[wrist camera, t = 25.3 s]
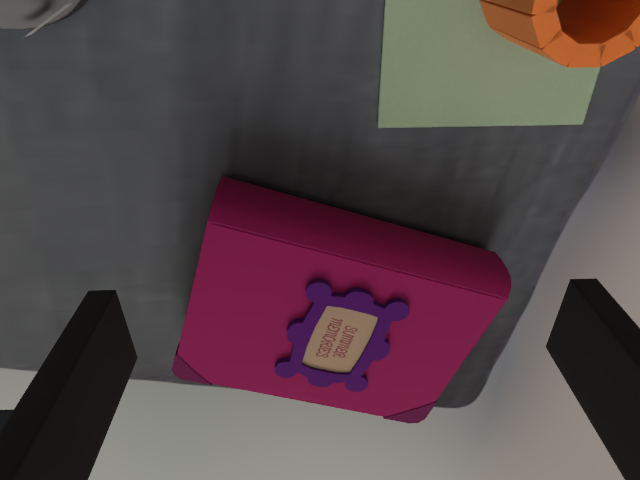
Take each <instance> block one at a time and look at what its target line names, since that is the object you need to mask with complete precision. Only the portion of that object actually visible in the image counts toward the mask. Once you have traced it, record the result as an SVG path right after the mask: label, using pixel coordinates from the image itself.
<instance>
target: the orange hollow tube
mask: <svg viewBox="0 0 640 480" xmlns="http://www.w3.org/2000/svg"><path fill="white" fill-rule="evenodd" d="M557 2H558V0H480V4H481V7H482V10H483V13H484V15H485V18H486V21H487V24H488V25H489V26H490V28H491V29H493V30H494V31H496V32H497V33H498V34H500V35H501V36H503V37H504V38H506V39H507V40H509V41H511V42H513V43H515V44H517V45H519V46H521V47H523V48H526V49H528V50H530V51H532V52H534V53H536V54H538V55H541V56H543V57H545V58H547V59H549V60H551V61H553V62H555V63H558V64H560V65H562V66H564V67H568V68H585V67H600V66H604V65H606V64H608V63H610V62H612V61H614V60H616V59H617V58H619V57H621V56H623V55H625V54H627V53H629V52H631V51H633V50H635V46H636V47H638V46H639V45H640V0H562V1H561V2H560V3H559V5H558V6H557ZM556 6H557V7H556Z"/></svg>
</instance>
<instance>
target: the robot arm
mask: <svg viewBox="0 0 640 480" xmlns="http://www.w3.org/2000/svg"><path fill="white" fill-rule="evenodd" d="M87 1H88V0H0V28H4V29H32V28H35V29H34V30H32V31H31V32H30V33H29V34H27V35H26V36H29V35H32V34H33V33H34V32H36V31H37V30H38V29H40V28H41V27H42V26H46V25H49V24H52V23H55V22H58V21H61V20H63V19H65V18H67V17H69V16H70V15H72V14H74V13H75V12H76V11H77V10H79V9H80V8H81V7H82V6H83V5H84V4H85V3H86V2H87ZM26 36H25V37H26ZM546 348H547V350H548V351H549V353H550V355H551V356H552V358H553V360H554V361H555V363H556V365H557V367H558V368H559V370H560V372H561V373H562V375H563V377H564V378H565V380H566V382H567V383H568V385H569V387H570V388H571V390H572V392H573V393H574V395H575V396H576V398H577V400H578V402H579V403H580V405H581V407H582V408H583V410H584V412H585V413H586V415H587V417H588V418H589V420H590V422H591V423H592V425H593V427H594V428H595V430H596V432H597V433H598V435H599V437H600V438H601V440H602V442H603V443H604V445H605V447H606V448H607V450H608V452H609V454H610V455H611V457H612V459H613V460H614V462H615V464H616V465H617V467H618V469H619V470H620V472H621V474H622V475H623V477H624V479H625V480H640V328H639V327H638V326H637V325H636V324H635V322H634V321H633V320H632V319H631V318H630V317H629V316H628V314H627V313H626V312H625V311H624V310H623V309H622V307H621V306H620V305H619V304H618V303H617V302H616V301H615V299H614V298H613V297H612V296H611V295H610V294H609V293H608V291H607V290H606V289H605V288H604V287H603V286H602V285H601V283H600V282H599V281H598V280H597V279H570V282H569V285H568V287H567V290H566V293H565V296H564V298H563V301H562V304H561V307H560V309H559V312H558V315H557V317H556V320H555V323H554V326H553V328H552V331H551V334H550V337H549V339H548V342H547V345H546ZM136 360H137V355H136V352H135V348H134V345H133V342H132V339H131V336H130V333H129V330H128V327H127V324H126V321H125V318H124V314H123V311H122V308H121V305H120V302H119V299H118V296H117V293H116V290H100V291H88V293H87V294H86V296H85V297H84V299H83V301H82V302H81V304H80V305H79V307H78V308H77V310H76V312H75V313H74V315H73V316H72V318H71V320H70V321H69V323H68V324H67V326H66V328H65V329H64V331H63V332H62V334H61V336H60V337H59V339H58V340H57V342H56V344H55V345H54V347H53V348H52V350H51V352H50V353H49V355H48V356H47V358H46V360H45V361H44V363H43V364H42V366H41V368H40V369H39V371H38V373H37V374H36V376H35V377H34V379H33V380H32V382H31V383H30V385H29V387H28V388H27V390H26V391H25V393H24V395H23V396H22V398H21V399H20V401H19V403H18V404H17V406H16V408H15V409H14V410H0V480H88V478H89V475H90V473H91V471H92V468H93V466H94V463H95V461H96V458H97V456H98V453H99V451H100V448H101V446H102V444H103V441H104V439H105V436H106V434H107V431H108V429H109V426H110V424H111V421H112V419H113V416H114V414H115V412H116V409H117V407H118V404H119V401H120V399H121V397H122V394H123V392H124V389H125V387H126V384H127V382H128V380H129V377H130V375H131V372H132V370H133V367H134V365H135V362H136Z"/></svg>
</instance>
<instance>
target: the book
mask: <svg viewBox="0 0 640 480" xmlns="http://www.w3.org/2000/svg"><path fill="white" fill-rule="evenodd" d="M510 289H511V277H510V275H509V272H508V270H507V268H506V267H505V265H504V263H503V262H502V260H501V259H500V257H499V256H498V255H497V254H496V253H495V252H492V251H489V250H485V249H482V248H478V247H475V246H471V245H467V244H464V243H460V242H457V241H453V240H450V239H446V238H442V237H439V236H435V235H432V234H428V233H425V232H421V231H417V230H414V229H410V228H407V227H403V226H400V225H396V224H392V223H389V222H385V221H382V220H378V219H374V218H371V217H367V216H364V215H360V214H357V213H353V212H349V211H346V210H342V209H339V208H335V207H332V206H328V205H324V204H321V203H317V202H314V201H310V200H307V199H303V198H299V197H296V196H292V195H289V194H285V193H282V192H278V191H274V190H271V189H267V188H264V187H260V186H257V185H253V184H249V183H246V182H242V181H239V180H235V179H232V178H228V177H224V176H222V177H221V180H220V182H219V185H218V188H217V190H216V193H215V196H214V199H213V203H212V206H211V210H210V214H209V217H208V221H207V226H206V230H205V235H204V239H203V243H202V248H201V252H200V257H199V261H198V265H197V270H196V274H195V278H194V283H193V287H192V292H191V296H190V300H189V305H188V309H187V314H186V318H185V322H184V327H183V331H182V335H181V340H180V343H179V345H178V348H177V351H176V354H175V358H174V363H173V367H172V371H173V372H174V374H175V376H177V377H179V378H180V379H183V380H188V381H193V382H198V383H204V384H209V385H212V384H217V385H222V386H227V387H232V388H237V389H243V390H248V391H253V392H258V393H264V394H269V395H274V396H279V397H284V398H290V399H295V400H300V401H306V402H310V403H316V404H321V405H326V406H331V407H336V408H342V409H347V410H352V411H357V412H362V413H368V414H373V415H379V416H383V418H384V419H390V420H395V421H401V422H406V423H418V422H420V421H422V420H424V419H425V418H426V417H427V415H428V414H429V412H430V411H431V410H432V408H433V407H434V405H435V404H436V403H437V402H436V399H437V398H438V397H439V395H440V394H441V392H442V391H443V390H444V388H445V387H446V385H447V384H448V383H449V381H450V380H451V378H452V377H453V375H454V374H455V373H456V371H457V370H458V368H459V367H460V366H461V364H462V363H463V361H464V360H465V358H466V357H467V356H468V354H469V353H470V351H471V350H472V349H473V347H474V346H475V344H476V343H477V341H478V340H479V339H480V337H481V336H482V334H483V333H484V332H485V330H486V329H487V327H488V326H489V325H490V323H491V322H492V320H493V319H494V317H495V316H496V315H497V313H498V312H499V310H500V309H501V308H502V306H503V305H504V303H505V302H506V300H507V299H508V297H509V293H510Z"/></svg>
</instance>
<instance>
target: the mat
mask: <svg viewBox="0 0 640 480" xmlns="http://www.w3.org/2000/svg"><path fill="white" fill-rule="evenodd" d="M561 1H562V0H558V2H557V6H558V5H559V3H560V2H561ZM557 6H556V7H557ZM600 67H601V66H600ZM600 67H585V68H568V67H564V66H562V65H560V64H558V63H555V62H553V61H551V60H549V59H547V58H545V57H543V56H541V55H538V54H536V53H534V52H532V51H530V50H528V49H526V48H523V47H521V46H519V45H517V44H515V43H513V42H511V41H509V40H507V39H506V38H504V37H503V36H501V35H500V34H498V33H497V32H496V31H494V30H493V29H491V28H490V26H489V25H488V24H487V21H486V18H485V15H484V13H483V10H482V7H481V4H480V0H385V5H384V21H383V38H382V54H381V71H380V88H379V104H378V121H377V127H378V128H405V127H463V126H520V125H578V124H583V122H584V118H585V115H586V112H587V109H588V106H589V102H590V99H591V96H592V93H593V89H594V86H595V83H596V80H597V76H598V73H599V70H600Z"/></svg>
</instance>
